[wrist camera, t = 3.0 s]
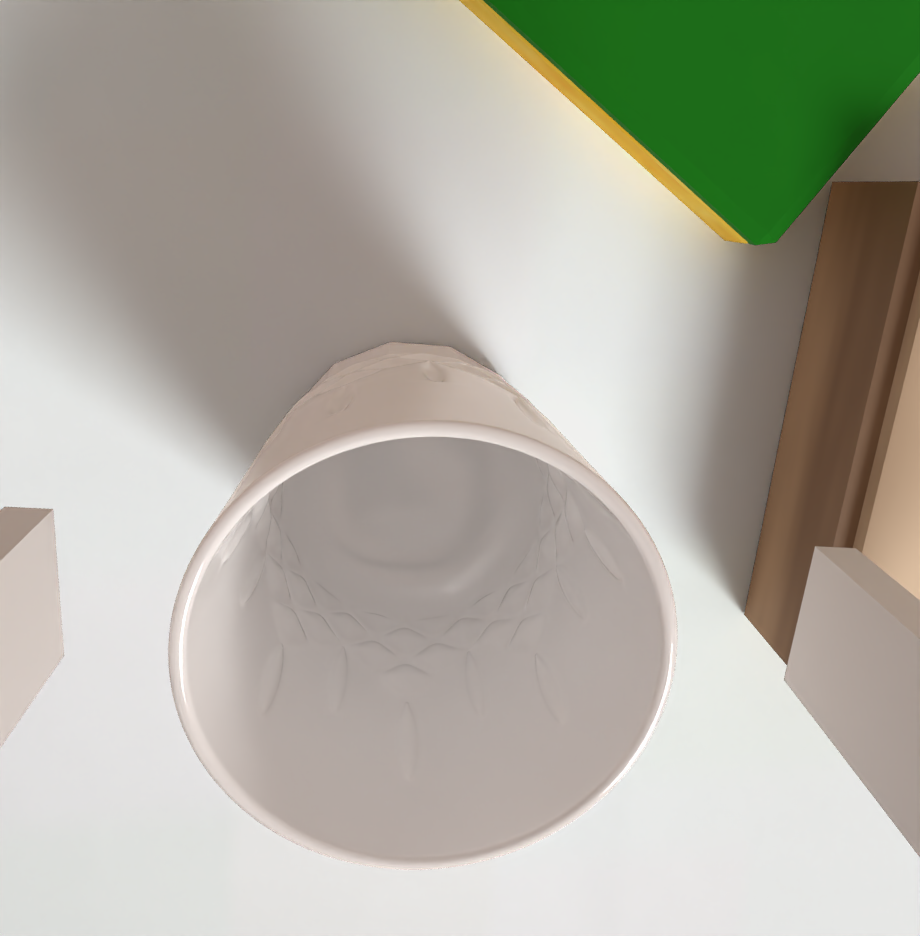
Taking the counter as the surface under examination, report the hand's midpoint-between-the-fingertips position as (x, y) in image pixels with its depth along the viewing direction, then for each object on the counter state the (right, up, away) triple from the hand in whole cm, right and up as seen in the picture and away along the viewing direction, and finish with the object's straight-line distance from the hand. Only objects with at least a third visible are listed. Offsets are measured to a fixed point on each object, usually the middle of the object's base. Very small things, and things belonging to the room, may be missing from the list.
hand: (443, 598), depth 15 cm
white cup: (-1, +2, +8) cm, 8 cm away
